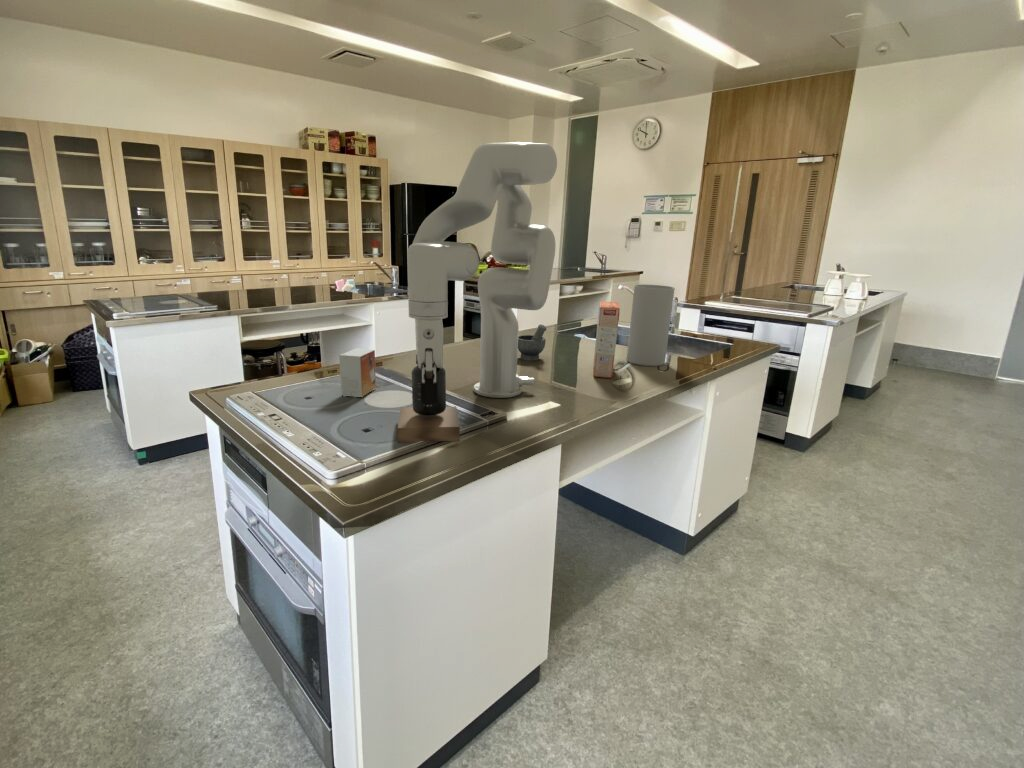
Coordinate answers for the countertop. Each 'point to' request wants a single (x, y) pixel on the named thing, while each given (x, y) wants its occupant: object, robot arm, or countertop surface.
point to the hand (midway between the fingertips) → (429, 395)
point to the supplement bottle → (416, 392)
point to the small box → (357, 372)
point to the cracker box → (606, 339)
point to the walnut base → (428, 426)
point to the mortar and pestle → (532, 344)
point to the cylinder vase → (650, 324)
